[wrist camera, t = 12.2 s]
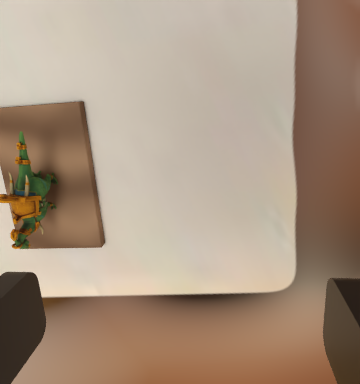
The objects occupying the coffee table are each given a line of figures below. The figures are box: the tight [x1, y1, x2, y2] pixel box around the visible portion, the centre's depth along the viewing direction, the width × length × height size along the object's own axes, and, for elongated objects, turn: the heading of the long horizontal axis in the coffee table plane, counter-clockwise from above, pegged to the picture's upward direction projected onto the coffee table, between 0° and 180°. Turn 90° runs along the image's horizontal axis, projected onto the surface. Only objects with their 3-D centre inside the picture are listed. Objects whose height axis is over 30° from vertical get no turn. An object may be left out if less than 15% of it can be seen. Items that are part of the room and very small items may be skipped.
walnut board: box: [0, 102, 105, 249], centre depth 38 cm, size 16×10×1 cm, turn 4°
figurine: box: [0, 131, 58, 249], centre depth 33 cm, size 3×12×8 cm, turn 173°
